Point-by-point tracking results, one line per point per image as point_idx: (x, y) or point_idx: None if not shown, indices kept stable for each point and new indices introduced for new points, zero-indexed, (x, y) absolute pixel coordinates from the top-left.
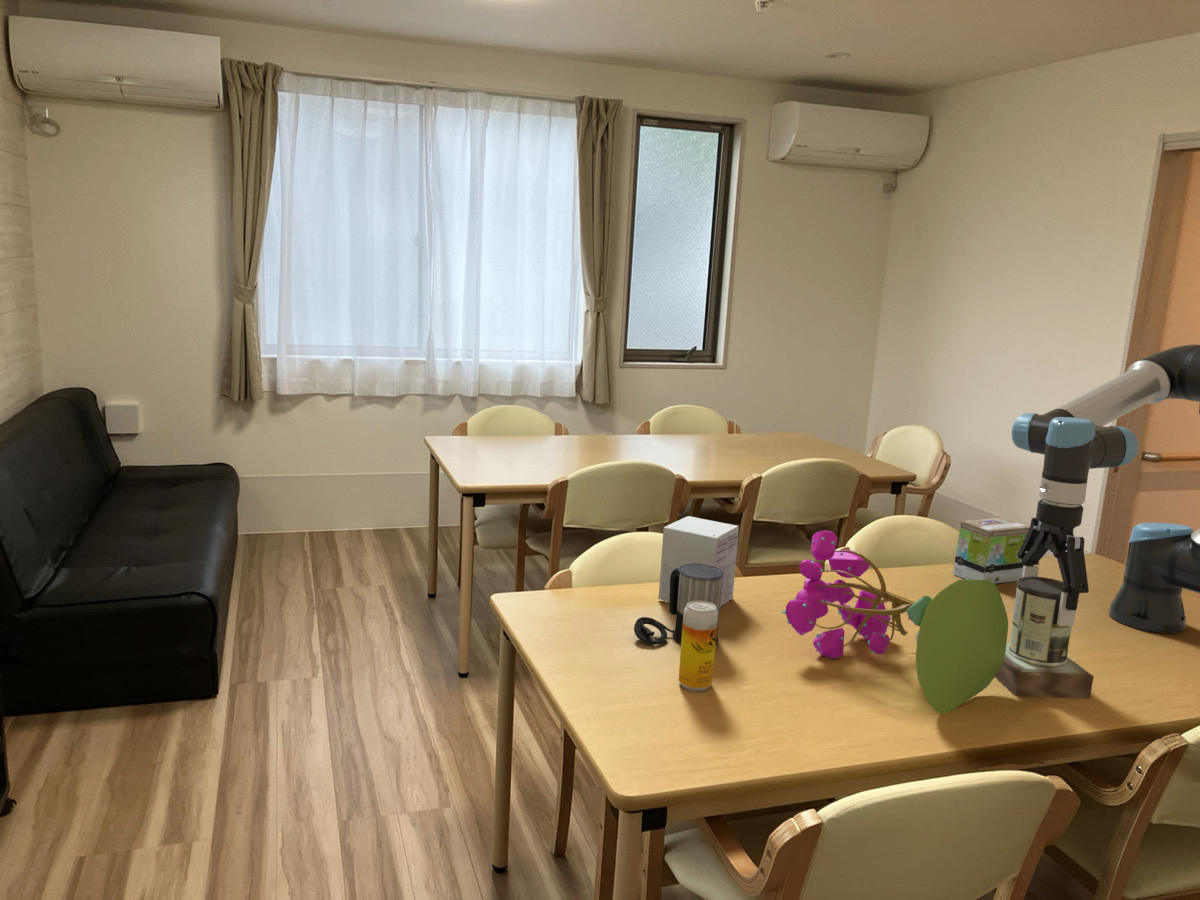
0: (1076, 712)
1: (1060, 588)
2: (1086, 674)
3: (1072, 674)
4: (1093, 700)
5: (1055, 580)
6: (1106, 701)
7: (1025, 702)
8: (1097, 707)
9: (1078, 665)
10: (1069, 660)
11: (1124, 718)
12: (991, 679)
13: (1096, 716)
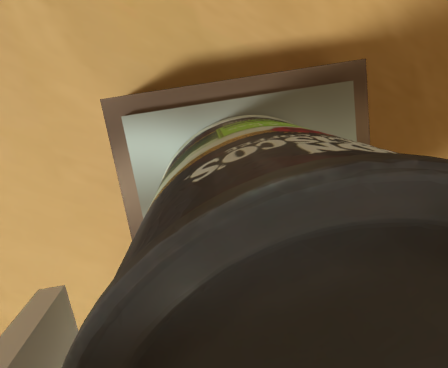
0: (419, 141)
1: (441, 357)
2: (354, 79)
3: (361, 131)
4: (343, 60)
5: (135, 325)
6: (345, 21)
7: None
8: (386, 68)
9: (310, 88)
10: (269, 104)
11: (444, 19)
12: None
13: (438, 96)
